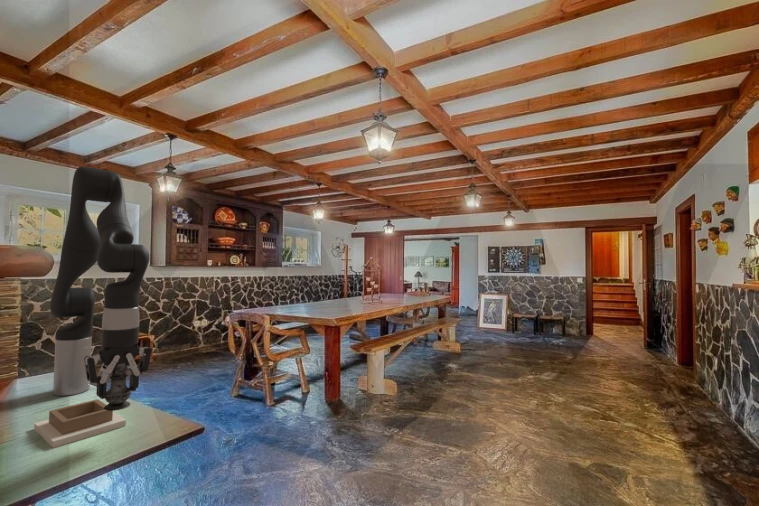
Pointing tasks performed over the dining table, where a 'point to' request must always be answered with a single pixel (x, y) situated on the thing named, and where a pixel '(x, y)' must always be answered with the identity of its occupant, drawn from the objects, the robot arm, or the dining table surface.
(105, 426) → the shaker stand
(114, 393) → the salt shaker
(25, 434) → the dining table surface
